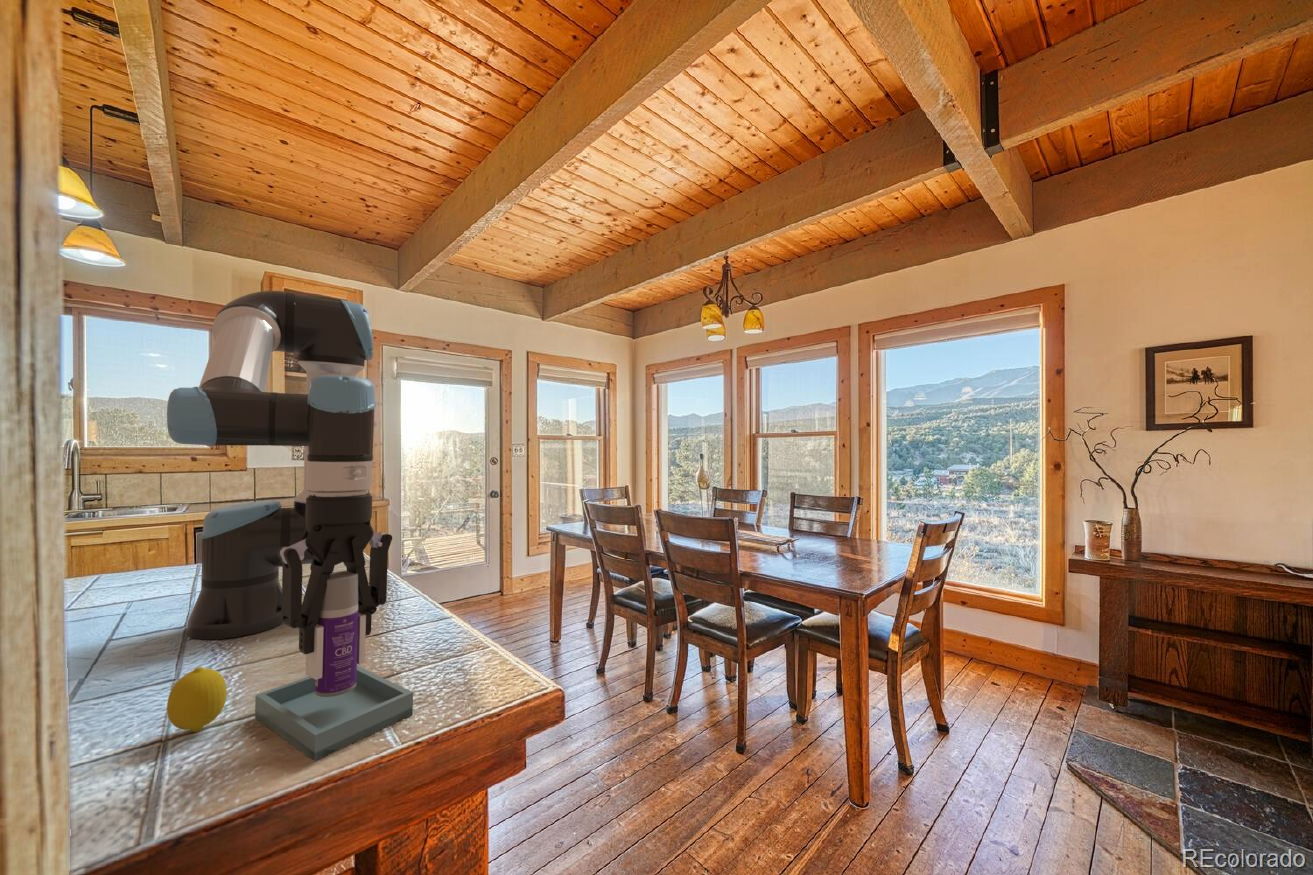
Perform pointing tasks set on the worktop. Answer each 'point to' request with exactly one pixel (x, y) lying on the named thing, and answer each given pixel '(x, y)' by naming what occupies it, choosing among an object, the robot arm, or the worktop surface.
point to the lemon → (196, 699)
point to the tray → (332, 712)
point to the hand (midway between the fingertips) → (335, 667)
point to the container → (339, 635)
